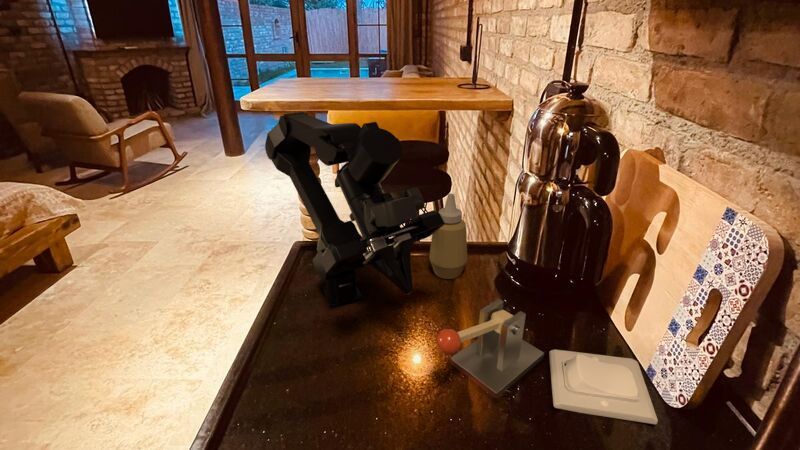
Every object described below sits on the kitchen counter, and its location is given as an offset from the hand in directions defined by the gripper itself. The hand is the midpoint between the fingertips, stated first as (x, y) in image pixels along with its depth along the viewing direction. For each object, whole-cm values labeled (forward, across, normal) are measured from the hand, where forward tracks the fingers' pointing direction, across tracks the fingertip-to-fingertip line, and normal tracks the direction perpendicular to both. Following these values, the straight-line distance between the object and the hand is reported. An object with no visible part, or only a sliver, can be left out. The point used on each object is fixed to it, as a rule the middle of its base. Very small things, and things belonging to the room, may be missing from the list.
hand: (409, 293), depth 58 cm
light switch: (+24, +20, -4) cm, 31 cm away
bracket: (+15, +12, +4) cm, 19 cm away
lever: (+10, +5, -2) cm, 11 cm away
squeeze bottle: (-2, +22, +22) cm, 31 cm away
